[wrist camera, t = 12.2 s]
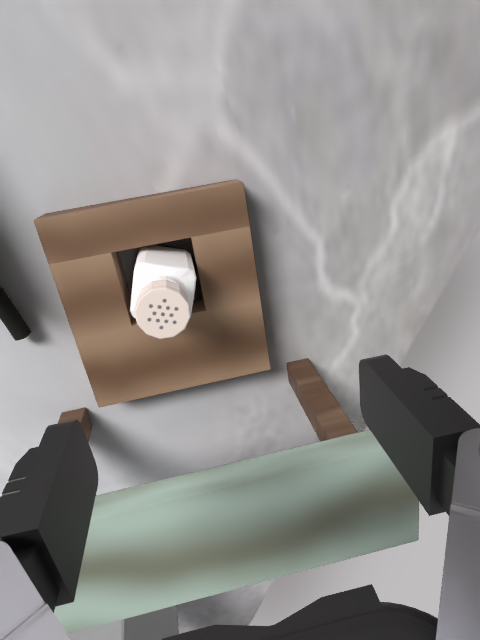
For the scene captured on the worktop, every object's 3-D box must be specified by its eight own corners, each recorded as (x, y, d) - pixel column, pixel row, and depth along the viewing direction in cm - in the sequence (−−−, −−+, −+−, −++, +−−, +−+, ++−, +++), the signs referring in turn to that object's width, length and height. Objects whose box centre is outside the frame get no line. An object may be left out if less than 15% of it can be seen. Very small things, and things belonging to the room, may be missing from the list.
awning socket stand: (-20, 225, 30) (-233, 315, 14) (294, 168, 32) (425, 190, 16) (65, 437, 37) (-10, 654, 21) (315, 380, 39) (418, 540, 23)
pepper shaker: (139, 241, 32) (130, 276, 23) (192, 249, 33) (202, 285, 24) (135, 291, 33) (124, 342, 25) (185, 297, 34) (192, 348, 26)
